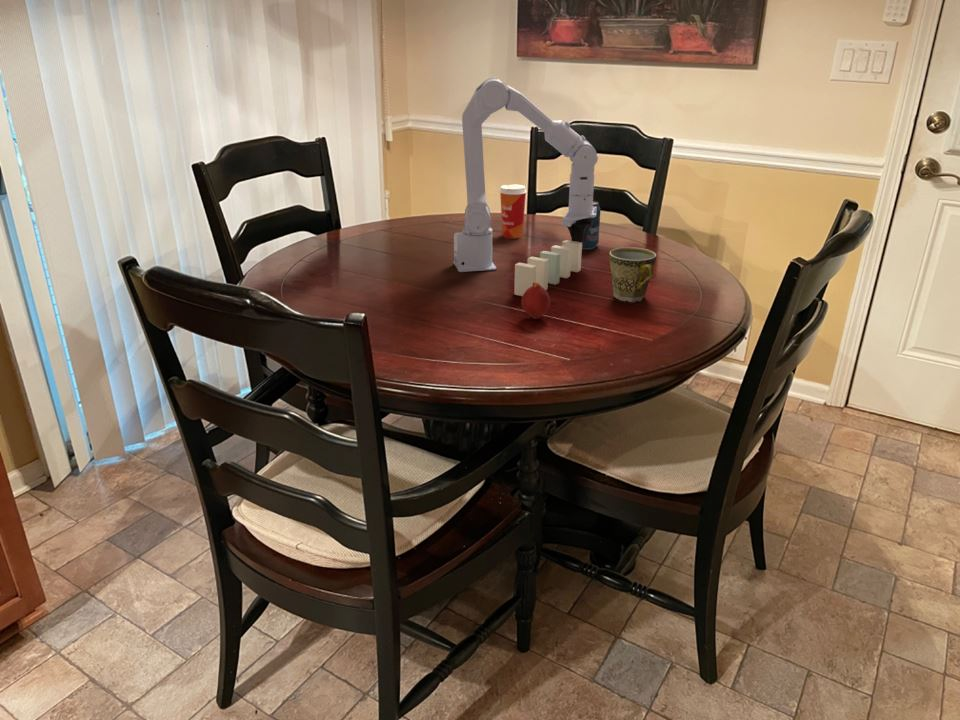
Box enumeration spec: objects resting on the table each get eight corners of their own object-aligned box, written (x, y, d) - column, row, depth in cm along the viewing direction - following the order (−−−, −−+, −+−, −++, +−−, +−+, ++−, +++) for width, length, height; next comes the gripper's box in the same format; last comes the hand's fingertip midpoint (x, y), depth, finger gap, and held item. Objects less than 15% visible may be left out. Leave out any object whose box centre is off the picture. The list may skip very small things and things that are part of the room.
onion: (532, 311, 157) (533, 275, 154) (554, 317, 154) (556, 281, 151) (515, 319, 153) (516, 282, 150) (538, 326, 150) (539, 288, 147)
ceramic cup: (598, 292, 168) (601, 249, 164) (636, 287, 171) (640, 245, 167) (628, 312, 157) (632, 266, 153) (668, 306, 160) (673, 261, 156)
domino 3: (555, 284, 173) (556, 255, 170) (539, 281, 175) (540, 252, 173) (559, 282, 175) (560, 253, 172) (542, 279, 177) (543, 250, 174)
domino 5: (577, 272, 182) (578, 244, 179) (561, 269, 184) (562, 241, 181) (580, 270, 183) (582, 242, 180) (564, 267, 185) (565, 239, 182)
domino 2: (543, 291, 169) (544, 261, 166) (526, 287, 171) (527, 258, 168) (547, 289, 170) (548, 259, 168) (530, 285, 173) (531, 256, 170)
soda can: (590, 251, 198) (592, 206, 193) (567, 247, 201) (569, 202, 196) (602, 245, 203) (605, 201, 198) (580, 241, 206) (583, 198, 201)
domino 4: (566, 278, 177) (567, 249, 174) (550, 275, 180) (551, 246, 177) (570, 276, 179) (571, 248, 176) (553, 273, 181) (555, 245, 178)
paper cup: (495, 233, 214) (495, 184, 208) (520, 231, 216) (521, 183, 210) (504, 240, 207) (504, 190, 201) (529, 238, 209) (531, 188, 203)
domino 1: (531, 298, 165) (532, 267, 162) (514, 294, 167) (514, 264, 164) (535, 295, 166) (536, 265, 163) (518, 292, 169) (519, 262, 166)
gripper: (582, 201, 171) (579, 258, 177) (609, 190, 182) (605, 244, 188) (555, 198, 175) (553, 254, 180) (583, 187, 185) (580, 240, 191)
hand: (578, 249), depth 184 cm, fingers closed
